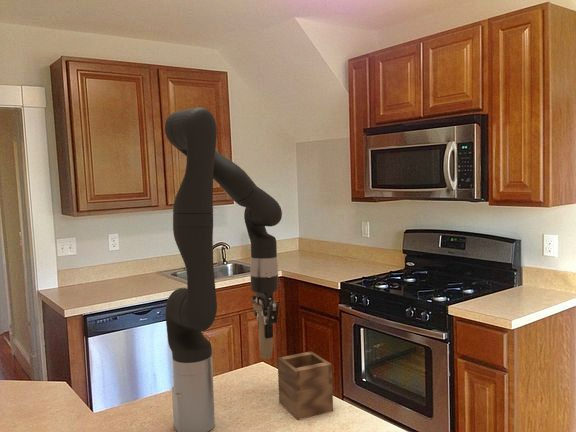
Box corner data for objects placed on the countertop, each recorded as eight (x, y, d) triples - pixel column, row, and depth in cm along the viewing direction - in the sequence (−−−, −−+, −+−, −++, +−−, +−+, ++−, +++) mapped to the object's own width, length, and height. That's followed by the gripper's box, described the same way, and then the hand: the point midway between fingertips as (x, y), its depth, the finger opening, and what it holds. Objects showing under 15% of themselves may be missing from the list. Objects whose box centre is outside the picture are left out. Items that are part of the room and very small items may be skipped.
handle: (255, 355, 141) (254, 302, 141) (278, 354, 141) (277, 301, 140) (253, 360, 136) (252, 306, 136) (277, 360, 136) (276, 305, 136)
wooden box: (297, 419, 123) (295, 371, 122) (279, 402, 133) (277, 357, 132) (333, 410, 127) (331, 364, 126) (312, 394, 137) (311, 351, 136)
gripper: (242, 271, 142) (243, 331, 143) (261, 278, 130) (262, 344, 130) (267, 268, 146) (268, 327, 146) (287, 276, 133) (289, 340, 134)
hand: (265, 335), depth 138 cm, fingers closed on handle, 4 cm apart
